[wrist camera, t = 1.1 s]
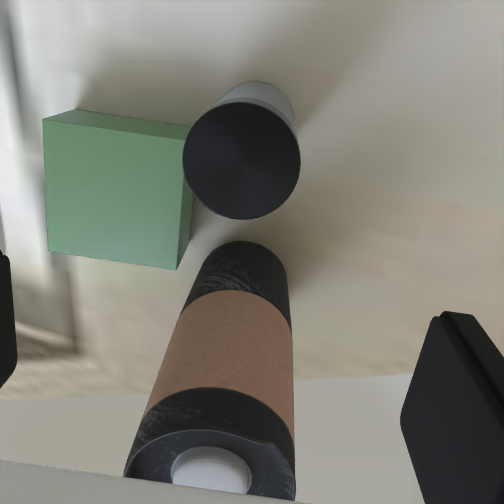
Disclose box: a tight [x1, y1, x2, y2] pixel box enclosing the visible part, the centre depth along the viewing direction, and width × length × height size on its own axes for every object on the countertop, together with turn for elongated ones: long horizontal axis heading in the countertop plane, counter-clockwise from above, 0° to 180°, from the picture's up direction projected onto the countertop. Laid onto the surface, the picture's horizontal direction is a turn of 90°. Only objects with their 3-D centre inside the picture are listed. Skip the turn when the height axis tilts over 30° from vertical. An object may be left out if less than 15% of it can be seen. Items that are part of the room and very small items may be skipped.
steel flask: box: [182, 81, 301, 220], centre depth 27 cm, size 5×5×13 cm
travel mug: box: [123, 241, 296, 501], centre depth 29 cm, size 8×8×20 cm
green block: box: [43, 109, 194, 270], centre depth 33 cm, size 9×9×5 cm
